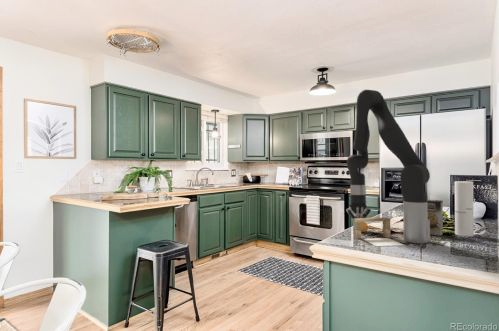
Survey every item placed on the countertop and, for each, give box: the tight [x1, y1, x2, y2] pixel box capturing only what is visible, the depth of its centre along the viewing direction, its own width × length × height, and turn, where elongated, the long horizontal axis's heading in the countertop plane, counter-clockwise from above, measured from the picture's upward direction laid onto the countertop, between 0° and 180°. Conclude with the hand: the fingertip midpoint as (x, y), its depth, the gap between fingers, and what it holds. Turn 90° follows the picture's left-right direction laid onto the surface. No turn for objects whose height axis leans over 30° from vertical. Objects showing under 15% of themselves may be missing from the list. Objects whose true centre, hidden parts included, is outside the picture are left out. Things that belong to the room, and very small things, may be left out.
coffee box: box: [427, 199, 444, 236], centre depth 145 cm, size 9×6×16 cm
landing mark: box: [362, 237, 405, 247], centre depth 129 cm, size 12×12×1 cm
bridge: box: [353, 217, 391, 240], centre depth 138 cm, size 3×16×9 cm, turn 96°
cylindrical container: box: [454, 180, 475, 238], centre depth 142 cm, size 7×7×25 cm
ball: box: [361, 222, 369, 233], centre depth 149 cm, size 5×5×5 cm
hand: (358, 227), depth 155 cm, fingers closed
